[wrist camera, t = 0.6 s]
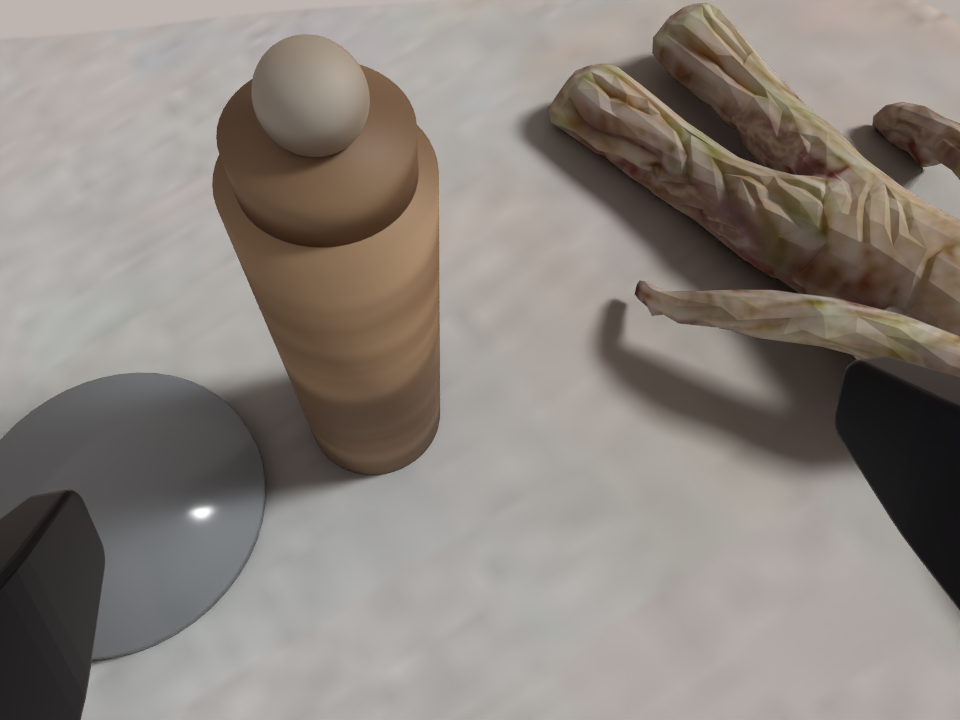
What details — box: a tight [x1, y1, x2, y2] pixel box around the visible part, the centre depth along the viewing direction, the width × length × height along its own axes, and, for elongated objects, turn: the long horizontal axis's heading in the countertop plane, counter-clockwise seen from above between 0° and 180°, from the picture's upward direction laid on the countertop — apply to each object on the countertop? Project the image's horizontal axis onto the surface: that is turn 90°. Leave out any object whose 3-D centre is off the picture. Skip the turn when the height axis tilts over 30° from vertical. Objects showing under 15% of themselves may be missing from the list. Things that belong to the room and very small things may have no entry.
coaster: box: [0, 373, 266, 660], centre depth 23 cm, size 9×9×1 cm
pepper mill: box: [212, 35, 440, 475], centre depth 18 cm, size 4×4×15 cm
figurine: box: [548, 3, 960, 377], centre depth 26 cm, size 17×6×30 cm
